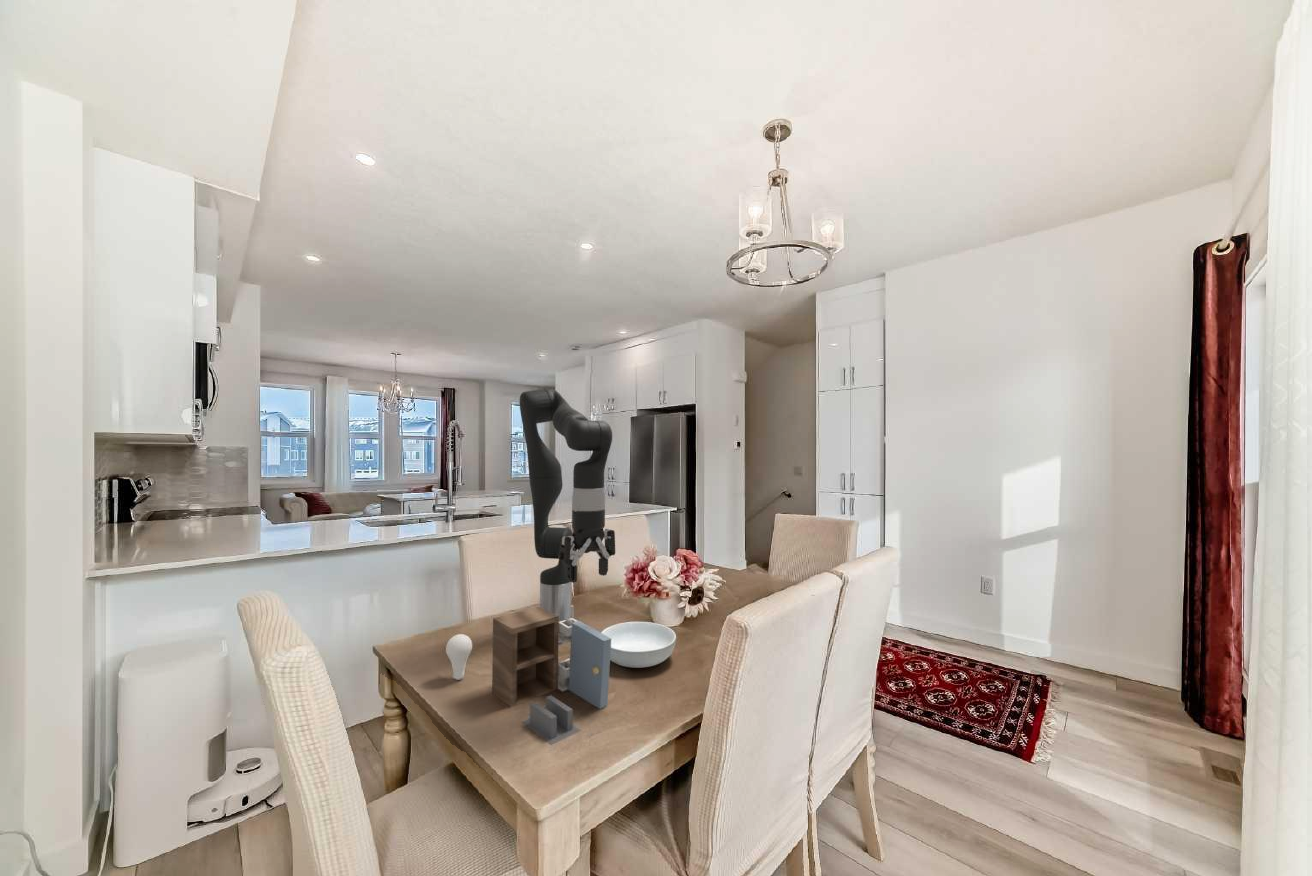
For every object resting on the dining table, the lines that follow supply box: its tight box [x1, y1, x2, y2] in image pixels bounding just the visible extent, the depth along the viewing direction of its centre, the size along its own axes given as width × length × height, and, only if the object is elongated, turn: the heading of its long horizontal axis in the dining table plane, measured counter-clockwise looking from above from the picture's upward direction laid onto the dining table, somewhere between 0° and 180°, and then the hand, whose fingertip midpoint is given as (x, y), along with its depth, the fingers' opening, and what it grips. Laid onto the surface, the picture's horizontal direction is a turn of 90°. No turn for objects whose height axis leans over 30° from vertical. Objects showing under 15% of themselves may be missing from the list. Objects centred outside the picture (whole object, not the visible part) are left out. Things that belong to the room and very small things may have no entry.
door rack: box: [521, 694, 582, 746], centre depth 104 cm, size 7×11×5 cm, turn 45°
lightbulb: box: [445, 633, 473, 681], centre depth 126 cm, size 6×6×11 cm
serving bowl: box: [600, 621, 677, 669], centre depth 139 cm, size 21×21×7 cm
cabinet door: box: [558, 618, 611, 710], centre depth 117 cm, size 4×16×16 cm, turn 45°
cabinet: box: [491, 606, 572, 707], centre depth 120 cm, size 17×11×18 cm, turn 135°
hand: (587, 578), depth 116 cm, fingers open, 8 cm apart
